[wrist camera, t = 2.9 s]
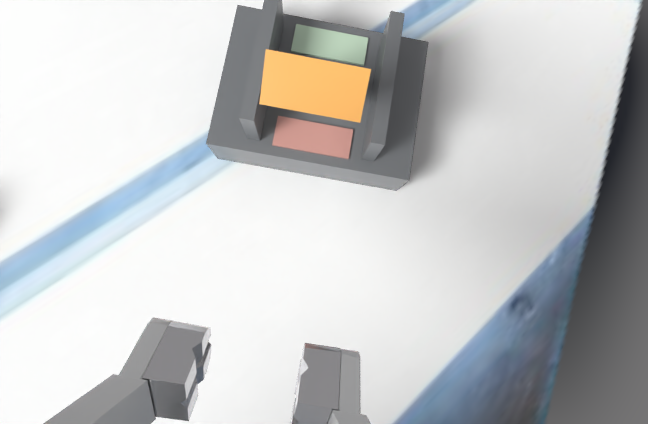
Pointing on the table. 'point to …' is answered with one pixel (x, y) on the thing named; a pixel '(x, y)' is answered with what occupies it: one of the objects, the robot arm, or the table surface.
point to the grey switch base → (310, 129)
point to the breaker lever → (314, 86)
